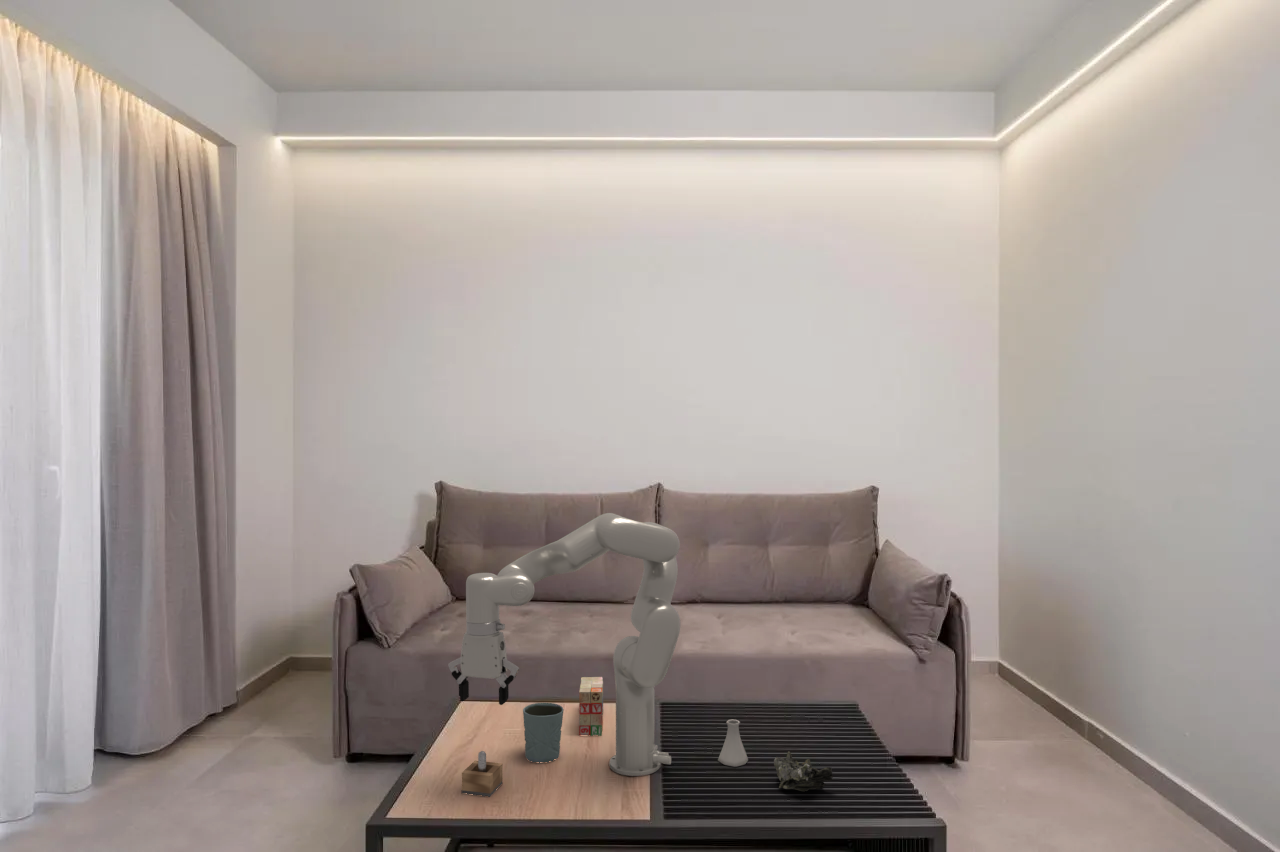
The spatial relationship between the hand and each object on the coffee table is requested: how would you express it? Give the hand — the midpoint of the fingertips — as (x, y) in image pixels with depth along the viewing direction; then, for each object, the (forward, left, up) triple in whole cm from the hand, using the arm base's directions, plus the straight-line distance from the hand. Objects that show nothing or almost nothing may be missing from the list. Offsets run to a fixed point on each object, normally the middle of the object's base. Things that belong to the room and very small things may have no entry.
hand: (483, 701), depth 194 cm
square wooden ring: (0, 0, -19) cm, 19 cm away
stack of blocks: (-11, -46, -21) cm, 52 cm away
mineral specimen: (-71, -20, -21) cm, 77 cm away
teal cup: (-7, -21, -21) cm, 30 cm away
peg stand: (0, 0, -20) cm, 20 cm away
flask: (-54, -30, -21) cm, 65 cm away
